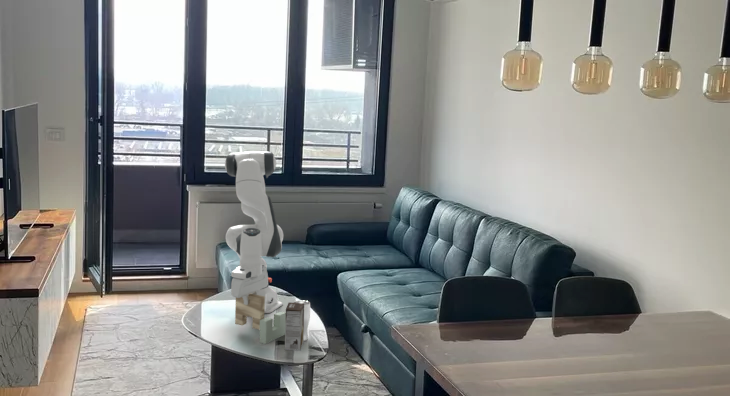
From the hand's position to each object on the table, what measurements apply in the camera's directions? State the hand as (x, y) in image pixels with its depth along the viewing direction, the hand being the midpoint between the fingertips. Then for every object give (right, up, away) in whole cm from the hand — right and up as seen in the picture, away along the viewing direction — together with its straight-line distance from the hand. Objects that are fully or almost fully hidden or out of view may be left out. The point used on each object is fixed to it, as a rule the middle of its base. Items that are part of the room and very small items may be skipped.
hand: (249, 302), depth 277 cm
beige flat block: (0, -10, +2) cm, 10 cm away
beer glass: (+21, -15, -2) cm, 25 cm away
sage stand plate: (+9, -14, -2) cm, 17 cm away
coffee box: (+19, -16, -10) cm, 26 cm away
